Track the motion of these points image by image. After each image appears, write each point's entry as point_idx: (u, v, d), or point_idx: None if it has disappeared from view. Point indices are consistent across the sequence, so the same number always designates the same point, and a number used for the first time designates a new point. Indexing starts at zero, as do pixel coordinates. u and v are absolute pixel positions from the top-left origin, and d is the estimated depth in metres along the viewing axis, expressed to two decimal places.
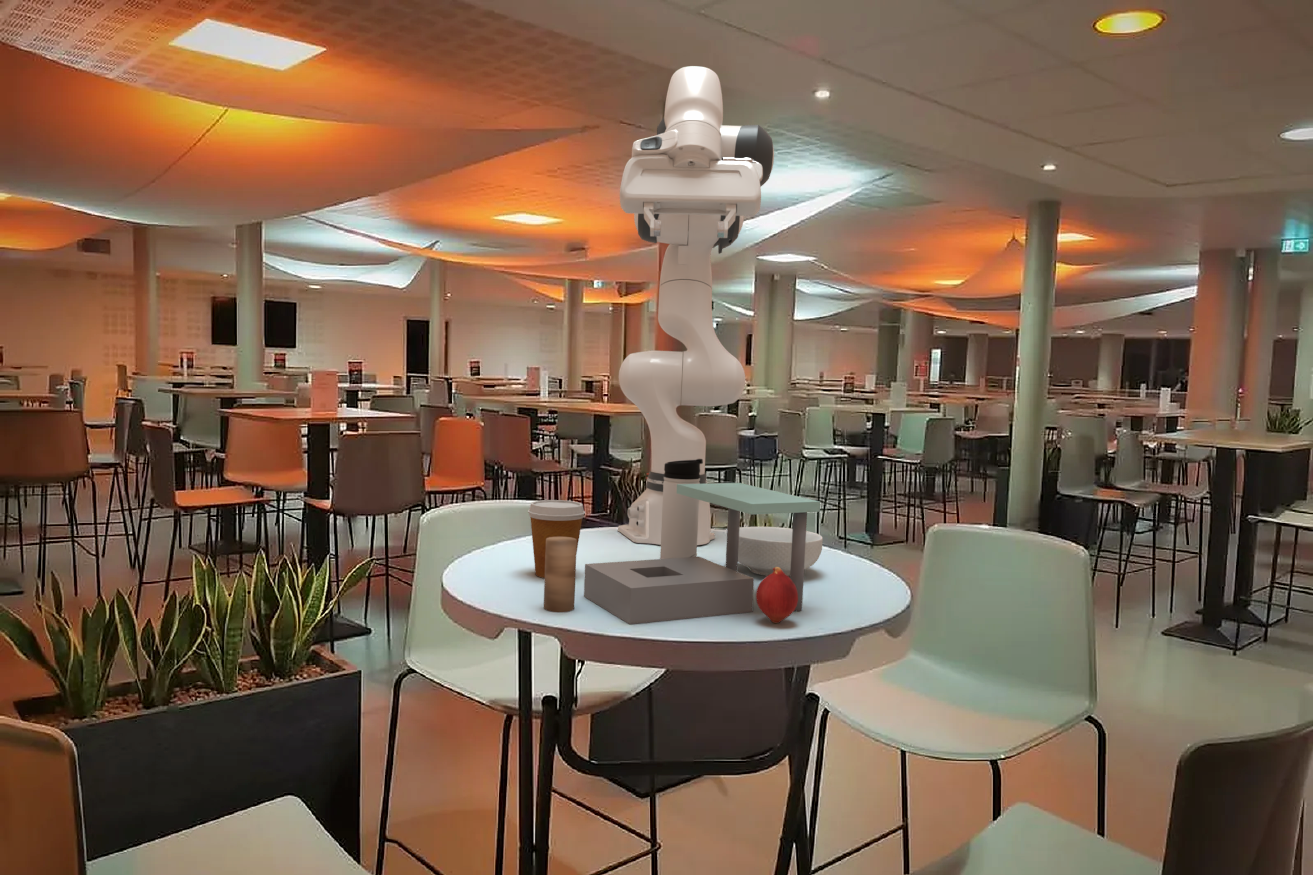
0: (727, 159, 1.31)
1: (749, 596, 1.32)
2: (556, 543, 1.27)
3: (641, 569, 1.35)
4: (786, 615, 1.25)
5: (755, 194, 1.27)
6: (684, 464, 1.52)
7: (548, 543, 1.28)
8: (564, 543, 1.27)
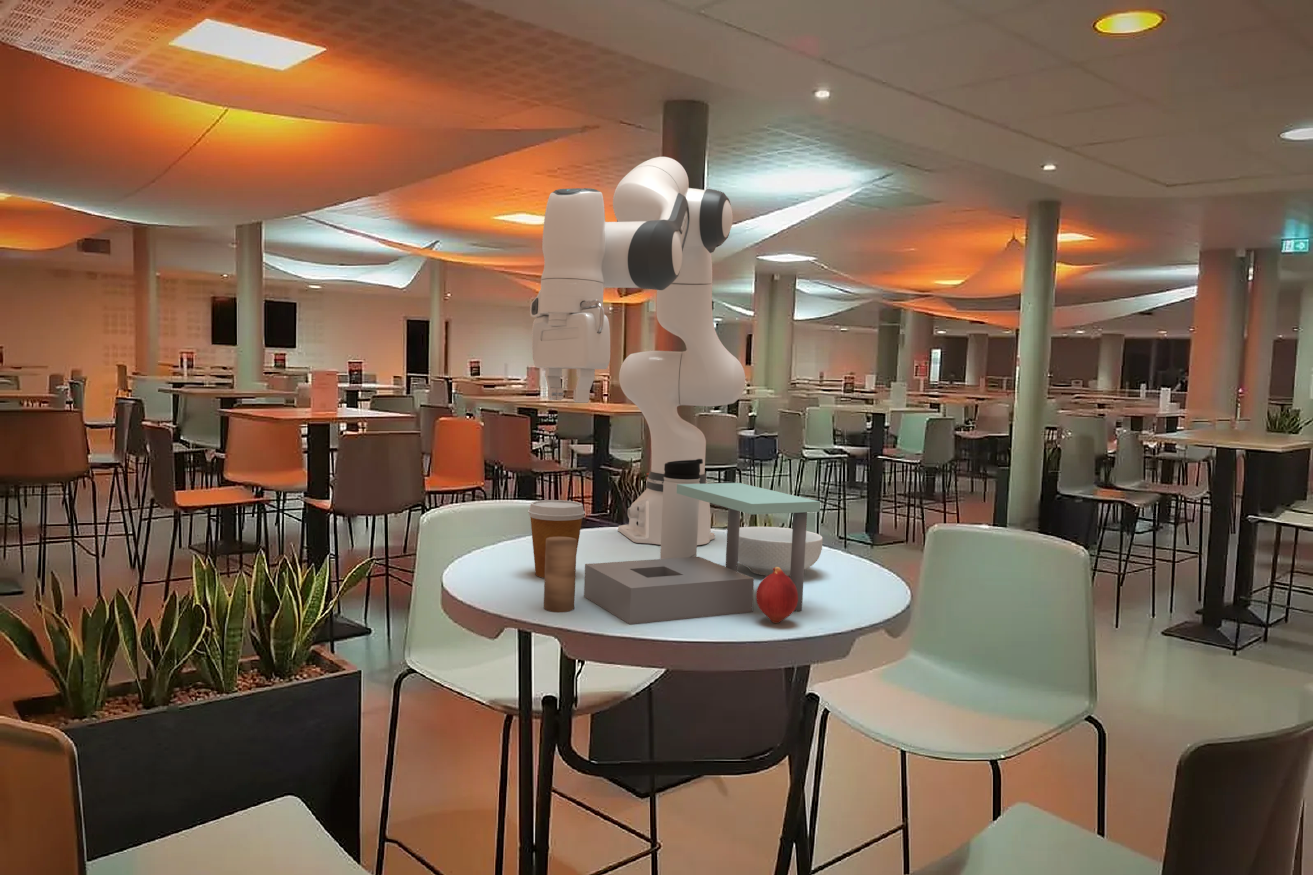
0: (582, 305, 1.22)
1: (749, 596, 1.32)
2: (556, 543, 1.27)
3: (641, 569, 1.35)
4: (786, 615, 1.25)
5: (583, 359, 1.18)
6: (684, 464, 1.52)
7: (548, 543, 1.28)
8: (564, 543, 1.27)
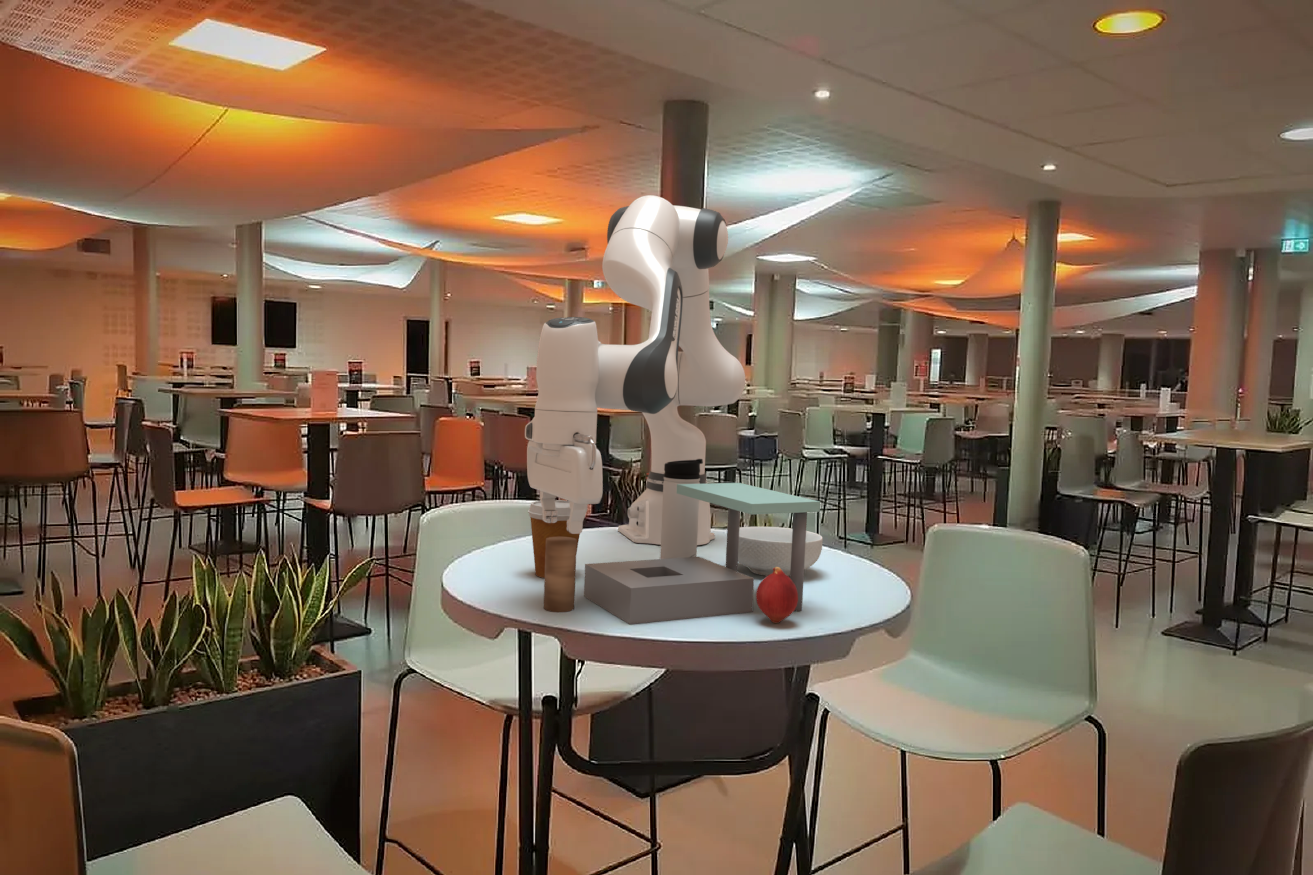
0: (575, 438, 1.23)
1: (749, 596, 1.32)
2: (556, 543, 1.27)
3: (641, 569, 1.35)
4: (786, 615, 1.25)
5: (576, 495, 1.19)
6: (684, 464, 1.52)
7: (548, 543, 1.28)
8: (564, 543, 1.27)
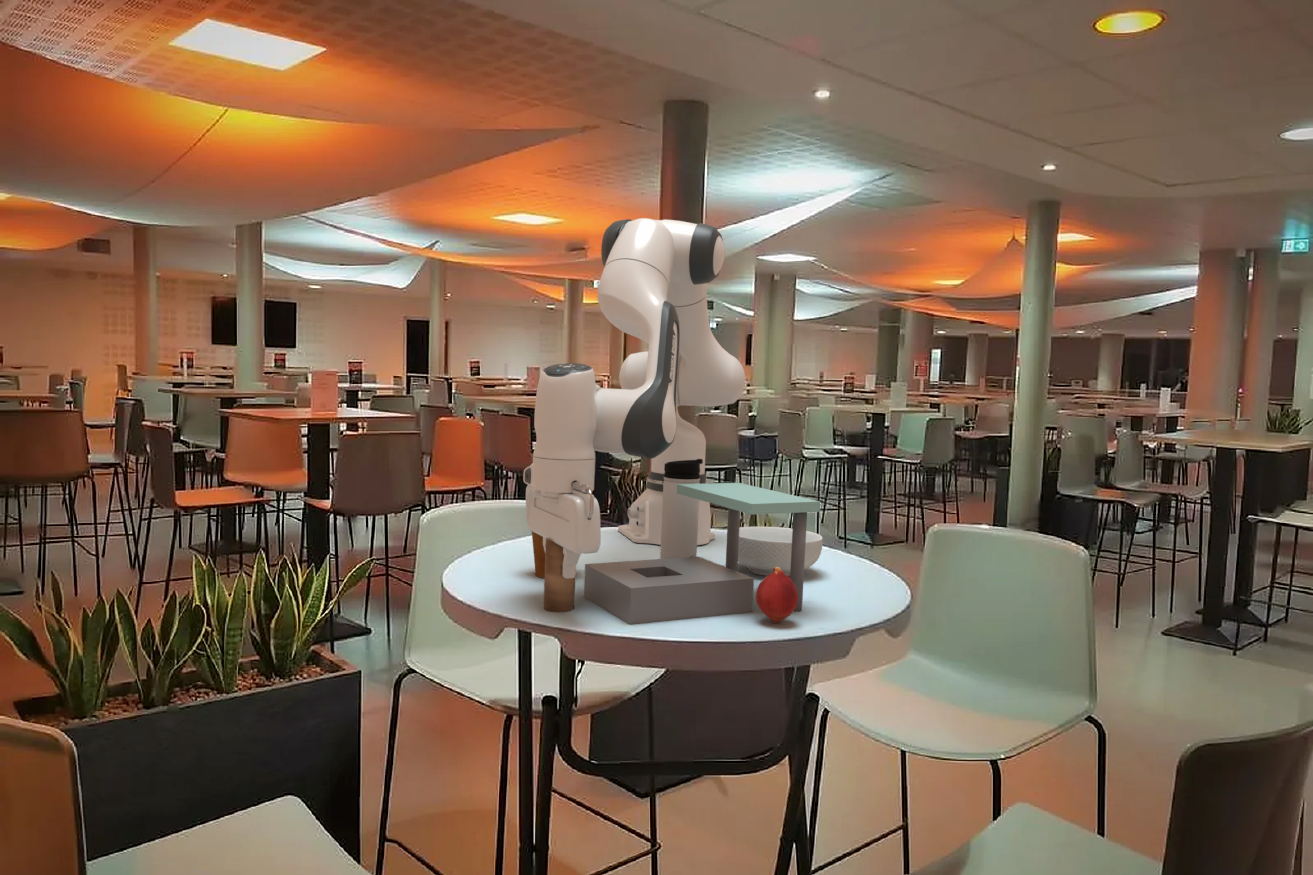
0: (573, 487, 1.24)
1: (749, 596, 1.32)
2: None
3: (641, 569, 1.35)
4: (786, 615, 1.25)
5: (574, 545, 1.20)
6: (684, 464, 1.52)
7: (548, 543, 1.28)
8: None
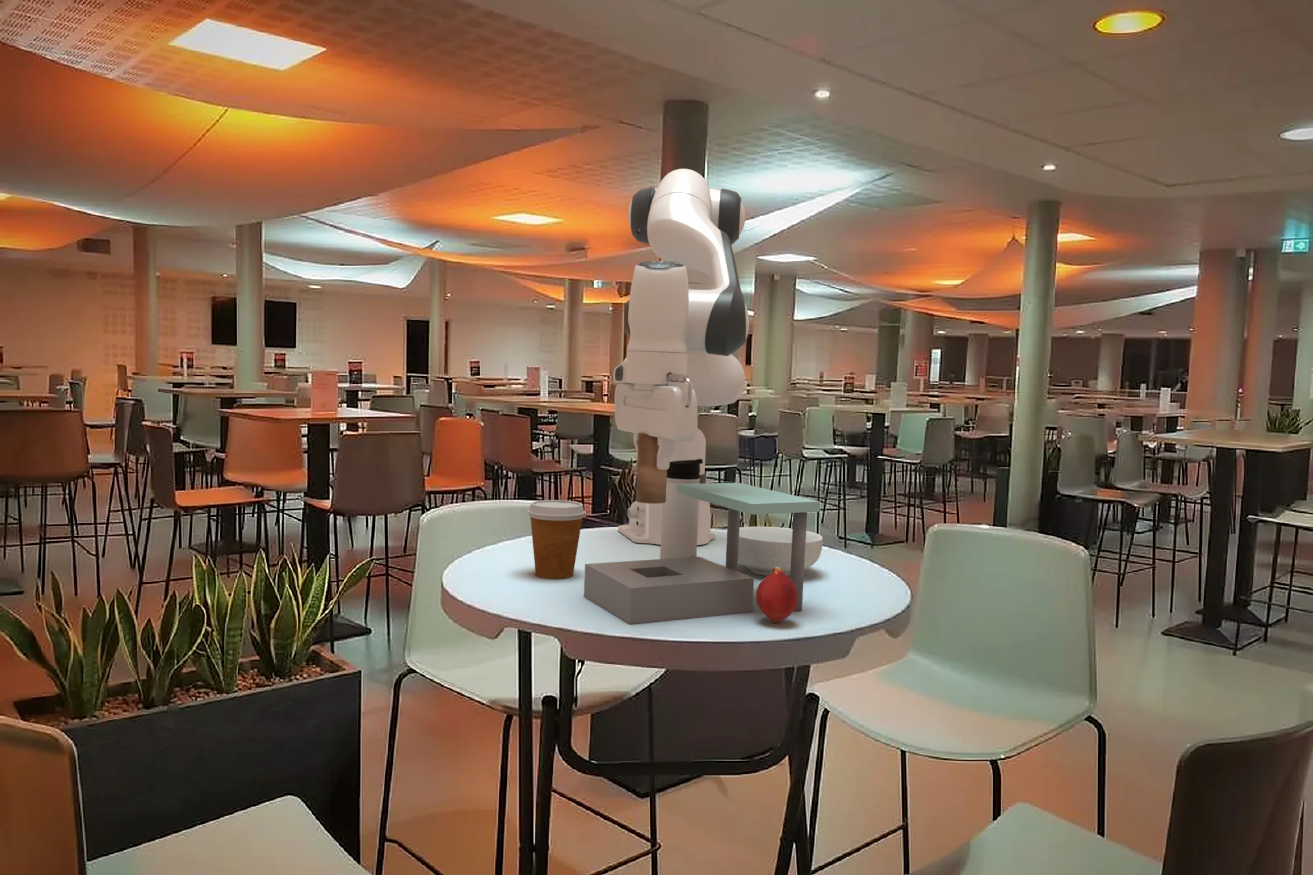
0: (669, 378, 1.26)
1: (749, 596, 1.32)
2: None
3: (641, 569, 1.35)
4: (786, 615, 1.25)
5: (672, 432, 1.23)
6: (684, 464, 1.52)
7: (641, 436, 1.30)
8: None
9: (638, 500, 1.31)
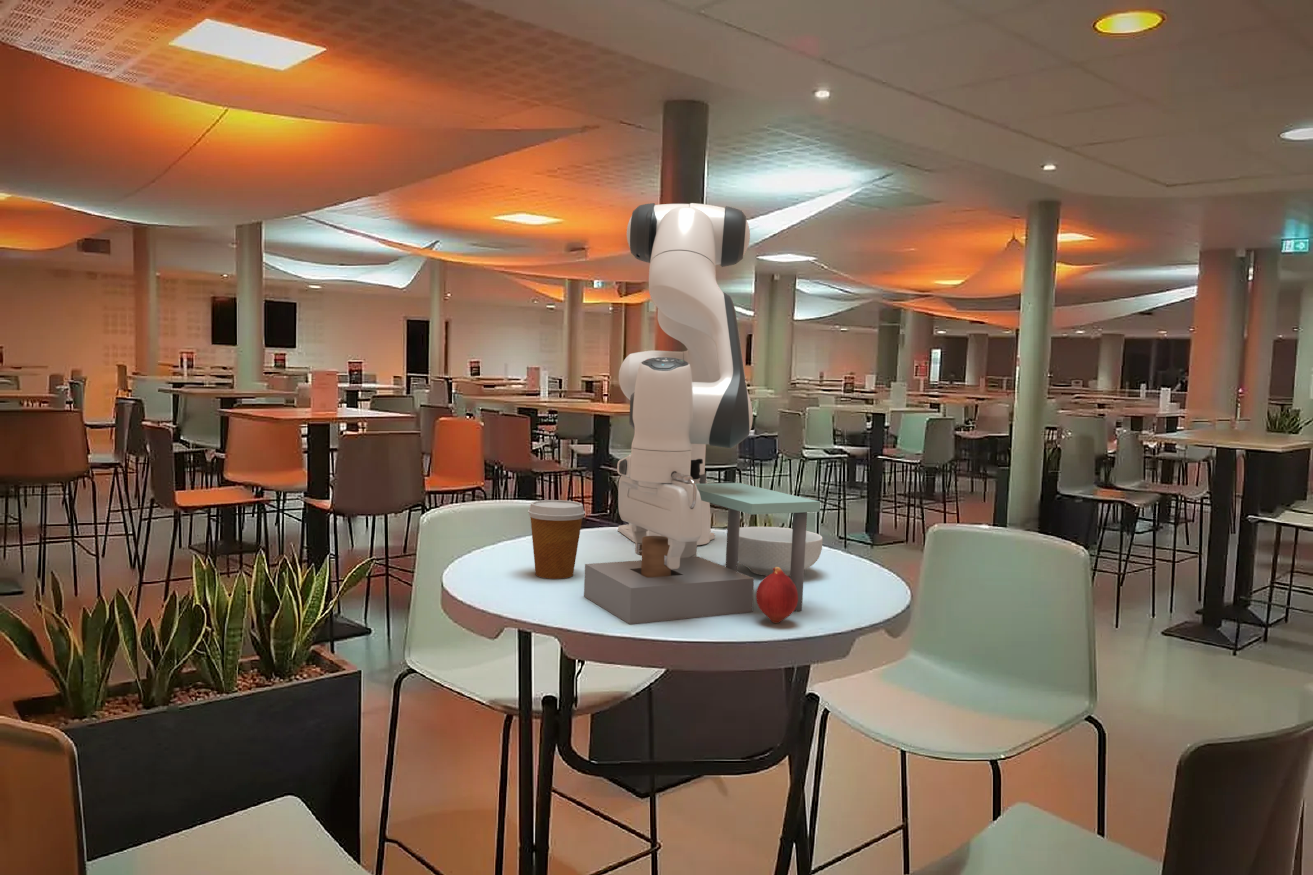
0: (674, 477, 1.27)
1: (749, 596, 1.32)
2: (654, 542, 1.31)
3: None
4: (786, 615, 1.25)
5: (677, 533, 1.24)
6: None
7: (645, 542, 1.32)
8: (661, 542, 1.31)
9: None
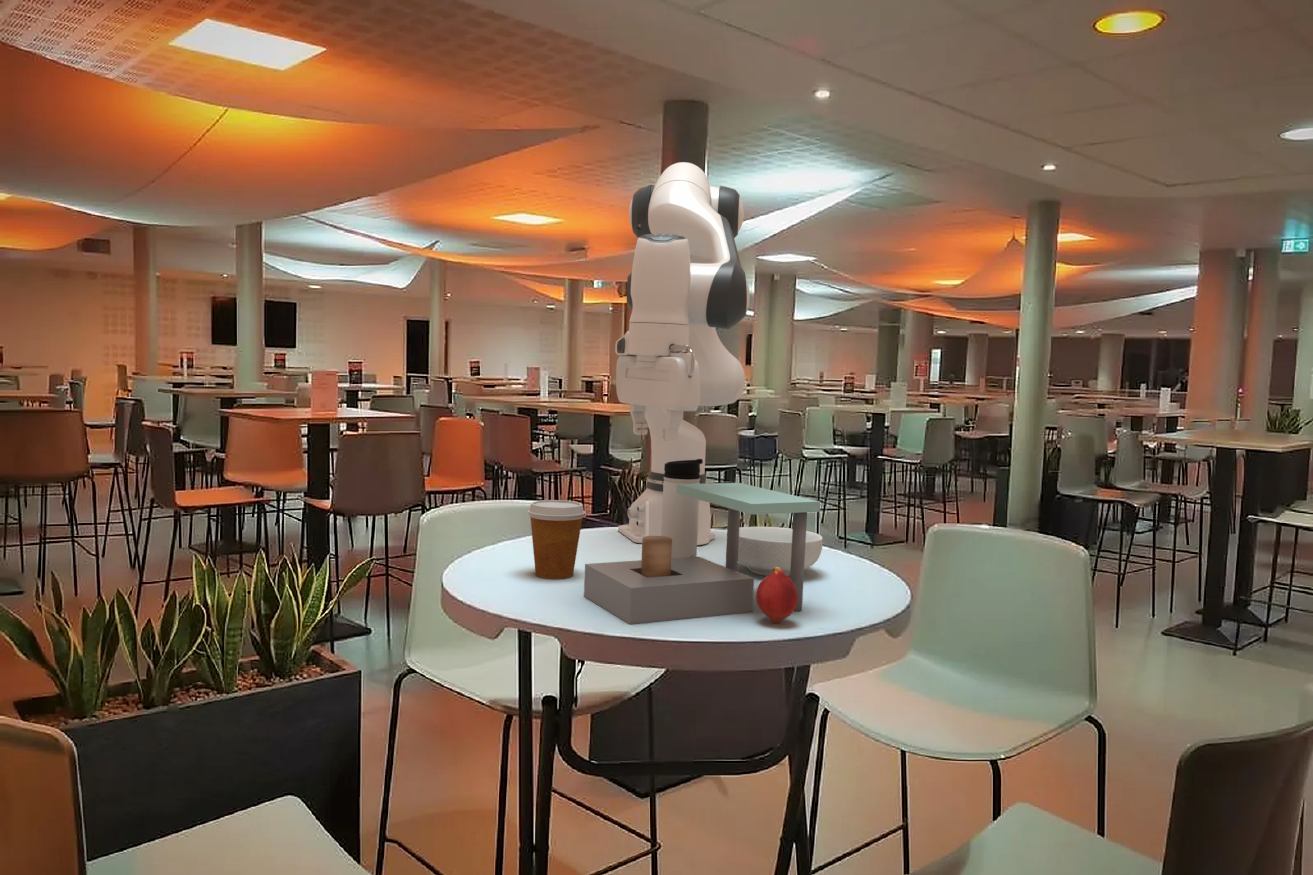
0: (672, 349, 1.28)
1: (749, 596, 1.32)
2: (654, 542, 1.31)
3: None
4: (786, 615, 1.25)
5: (675, 402, 1.24)
6: (684, 464, 1.52)
7: (645, 542, 1.32)
8: (661, 542, 1.31)
9: None
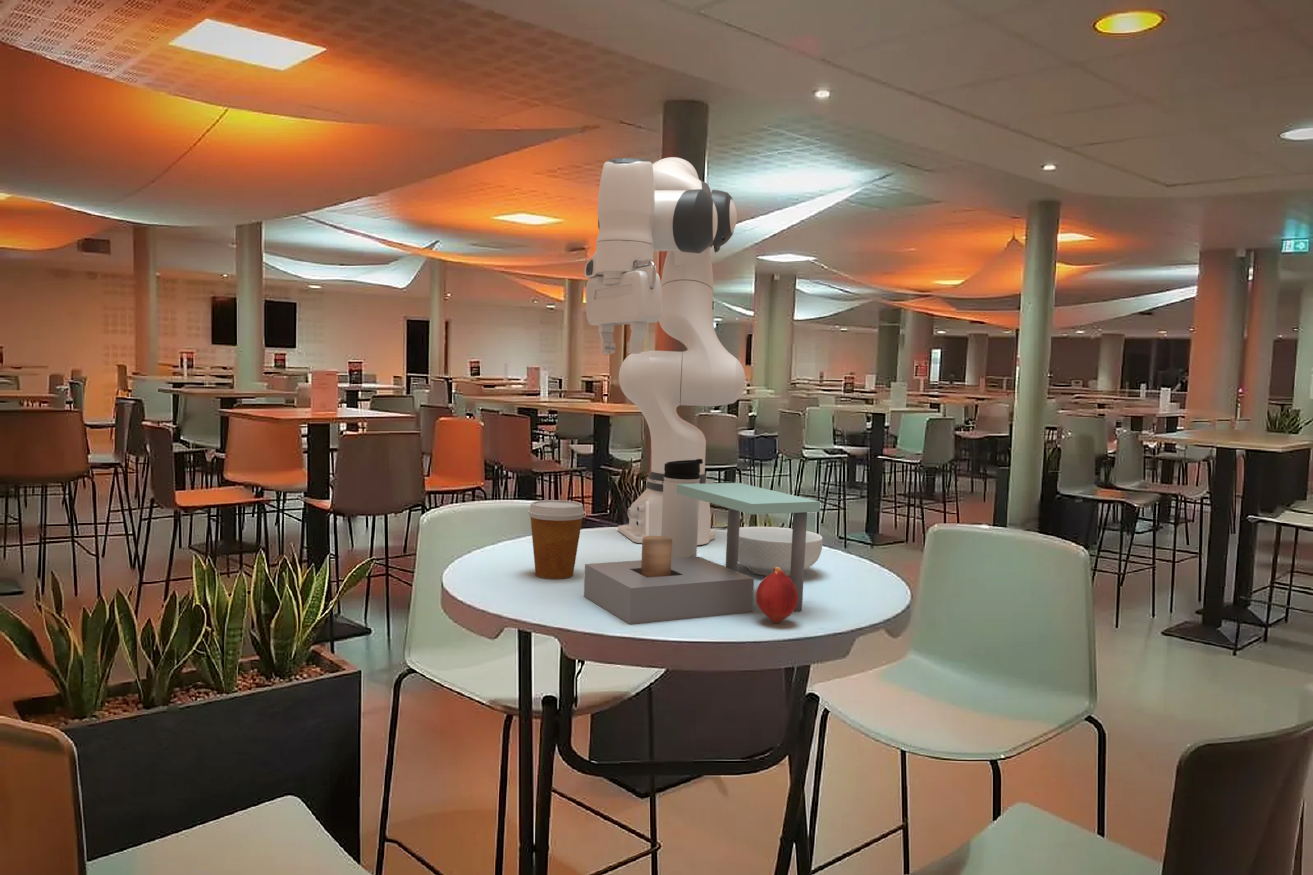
0: (635, 264, 1.34)
1: (749, 596, 1.32)
2: (654, 542, 1.31)
3: None
4: (786, 615, 1.25)
5: (638, 312, 1.30)
6: (684, 464, 1.52)
7: (645, 542, 1.32)
8: (661, 542, 1.31)
9: None
